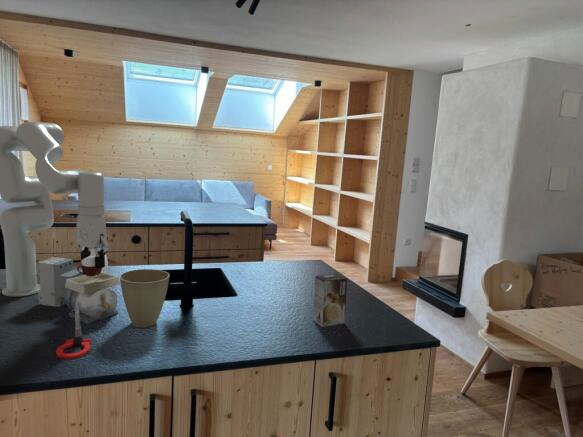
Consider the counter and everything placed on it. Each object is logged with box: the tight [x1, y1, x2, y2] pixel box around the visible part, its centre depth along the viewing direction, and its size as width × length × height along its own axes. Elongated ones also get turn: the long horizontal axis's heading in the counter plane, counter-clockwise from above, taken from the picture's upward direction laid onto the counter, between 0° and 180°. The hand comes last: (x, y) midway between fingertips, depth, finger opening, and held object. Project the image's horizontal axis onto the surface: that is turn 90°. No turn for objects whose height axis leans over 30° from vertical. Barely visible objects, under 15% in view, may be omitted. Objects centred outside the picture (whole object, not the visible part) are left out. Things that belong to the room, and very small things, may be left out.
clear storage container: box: [65, 271, 121, 325], centre depth 144 cm, size 16×13×13 cm
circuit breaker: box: [36, 256, 84, 308], centre depth 153 cm, size 8×14×15 cm, turn 78°
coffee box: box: [312, 273, 348, 328], centre depth 148 cm, size 9×6×16 cm
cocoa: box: [76, 236, 109, 276], centre depth 142 cm, size 10×6×12 cm, turn 108°
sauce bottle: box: [89, 248, 109, 273], centre depth 179 cm, size 8×8×18 cm
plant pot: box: [119, 268, 171, 329], centre depth 139 cm, size 15×15×16 cm
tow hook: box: [55, 301, 93, 360], centre depth 119 cm, size 8×13×9 cm
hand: (92, 265), depth 142 cm, fingers closed on cocoa, 6 cm apart
